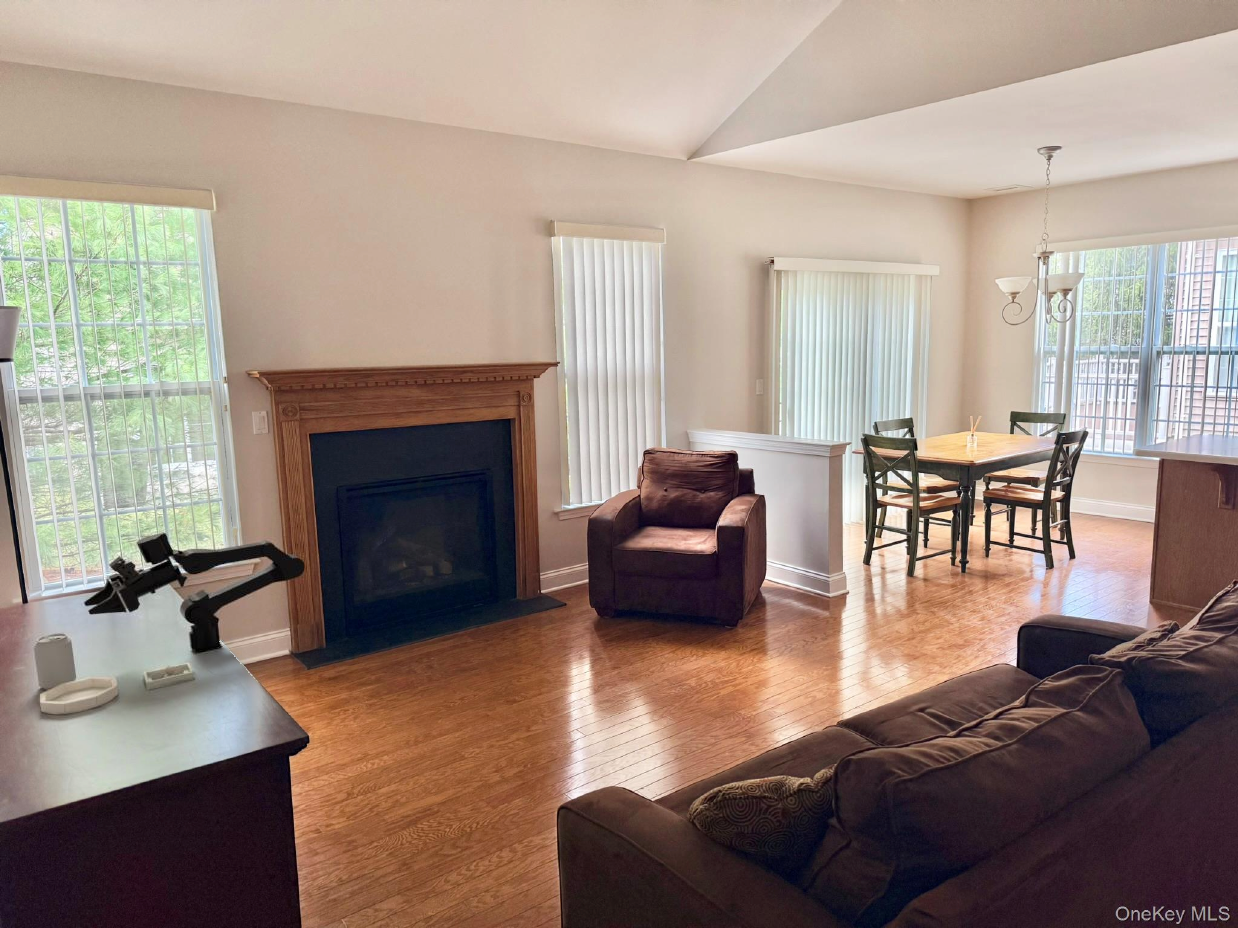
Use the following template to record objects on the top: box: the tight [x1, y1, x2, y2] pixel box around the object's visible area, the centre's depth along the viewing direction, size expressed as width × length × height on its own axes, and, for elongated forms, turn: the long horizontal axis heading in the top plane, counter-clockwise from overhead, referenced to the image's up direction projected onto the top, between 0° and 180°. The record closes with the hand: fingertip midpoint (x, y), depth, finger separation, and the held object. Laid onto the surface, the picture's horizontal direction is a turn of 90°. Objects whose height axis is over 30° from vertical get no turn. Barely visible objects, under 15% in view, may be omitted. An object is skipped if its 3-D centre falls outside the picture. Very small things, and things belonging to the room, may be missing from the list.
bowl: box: [39, 676, 119, 716], centre depth 190 cm, size 15×15×3 cm
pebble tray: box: [142, 662, 196, 691], centre depth 201 cm, size 10×8×2 cm
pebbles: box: [152, 665, 184, 680], centre depth 200 cm, size 7×5×2 cm
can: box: [33, 632, 77, 691], centre depth 199 cm, size 8×8×12 cm
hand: (86, 608), depth 205 cm, fingers open, 9 cm apart
